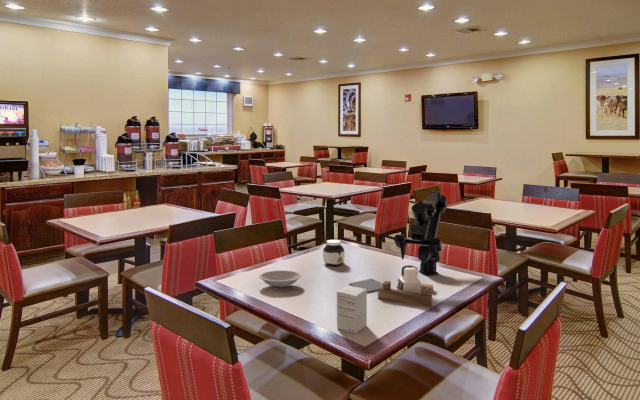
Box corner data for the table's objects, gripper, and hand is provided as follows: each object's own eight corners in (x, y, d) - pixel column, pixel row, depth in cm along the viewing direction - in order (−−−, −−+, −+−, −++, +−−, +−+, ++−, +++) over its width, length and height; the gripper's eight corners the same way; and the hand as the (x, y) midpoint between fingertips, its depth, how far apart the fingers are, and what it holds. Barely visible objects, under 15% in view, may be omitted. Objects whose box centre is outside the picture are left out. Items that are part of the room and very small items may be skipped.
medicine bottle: (397, 293, 170) (398, 264, 168) (415, 293, 171) (416, 263, 169) (402, 300, 163) (402, 269, 161) (420, 299, 164) (421, 269, 162)
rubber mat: (371, 279, 187) (371, 278, 187) (389, 287, 177) (389, 286, 177) (348, 284, 181) (348, 283, 181) (366, 293, 171) (366, 291, 171)
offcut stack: (399, 285, 180) (399, 279, 180) (433, 290, 174) (433, 284, 173) (396, 288, 176) (396, 283, 175) (430, 294, 170) (431, 288, 169)
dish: (303, 281, 185) (303, 270, 184) (299, 293, 171) (299, 281, 170) (262, 281, 186) (262, 270, 185) (256, 292, 172) (255, 280, 171)
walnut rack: (381, 294, 169) (382, 280, 168) (433, 303, 160) (433, 287, 159) (378, 298, 165) (378, 283, 164) (430, 307, 156) (431, 291, 155)
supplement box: (347, 320, 145) (348, 284, 143) (367, 325, 141) (367, 288, 139) (336, 328, 139) (336, 291, 137) (356, 334, 135) (356, 295, 133)
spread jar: (329, 267, 205) (329, 244, 203) (317, 262, 215) (317, 239, 213) (349, 264, 211) (350, 241, 209) (337, 258, 221) (337, 236, 219)
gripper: (395, 215, 177) (386, 247, 169) (441, 218, 169) (434, 252, 160) (400, 230, 185) (392, 261, 177) (445, 234, 177) (438, 267, 168)
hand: (413, 260), depth 170 cm, fingers open, 9 cm apart
